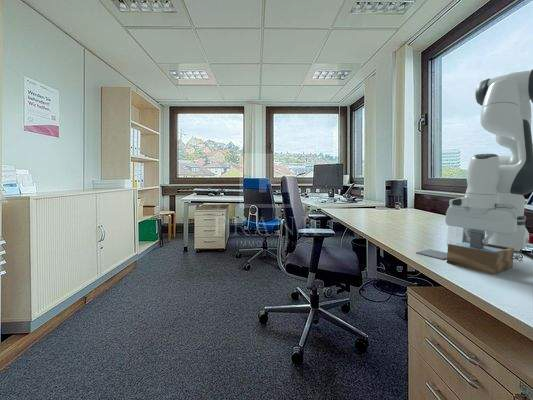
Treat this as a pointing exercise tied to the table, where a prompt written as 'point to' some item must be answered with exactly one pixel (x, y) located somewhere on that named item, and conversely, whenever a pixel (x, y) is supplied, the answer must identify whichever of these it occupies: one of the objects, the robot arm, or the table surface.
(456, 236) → the hard drive box
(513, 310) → the table surface
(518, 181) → the robot arm
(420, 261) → the table surface
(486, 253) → the walnut box
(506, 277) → the table surface
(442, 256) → the felt mat
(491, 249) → the cover plate
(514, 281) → the table surface
